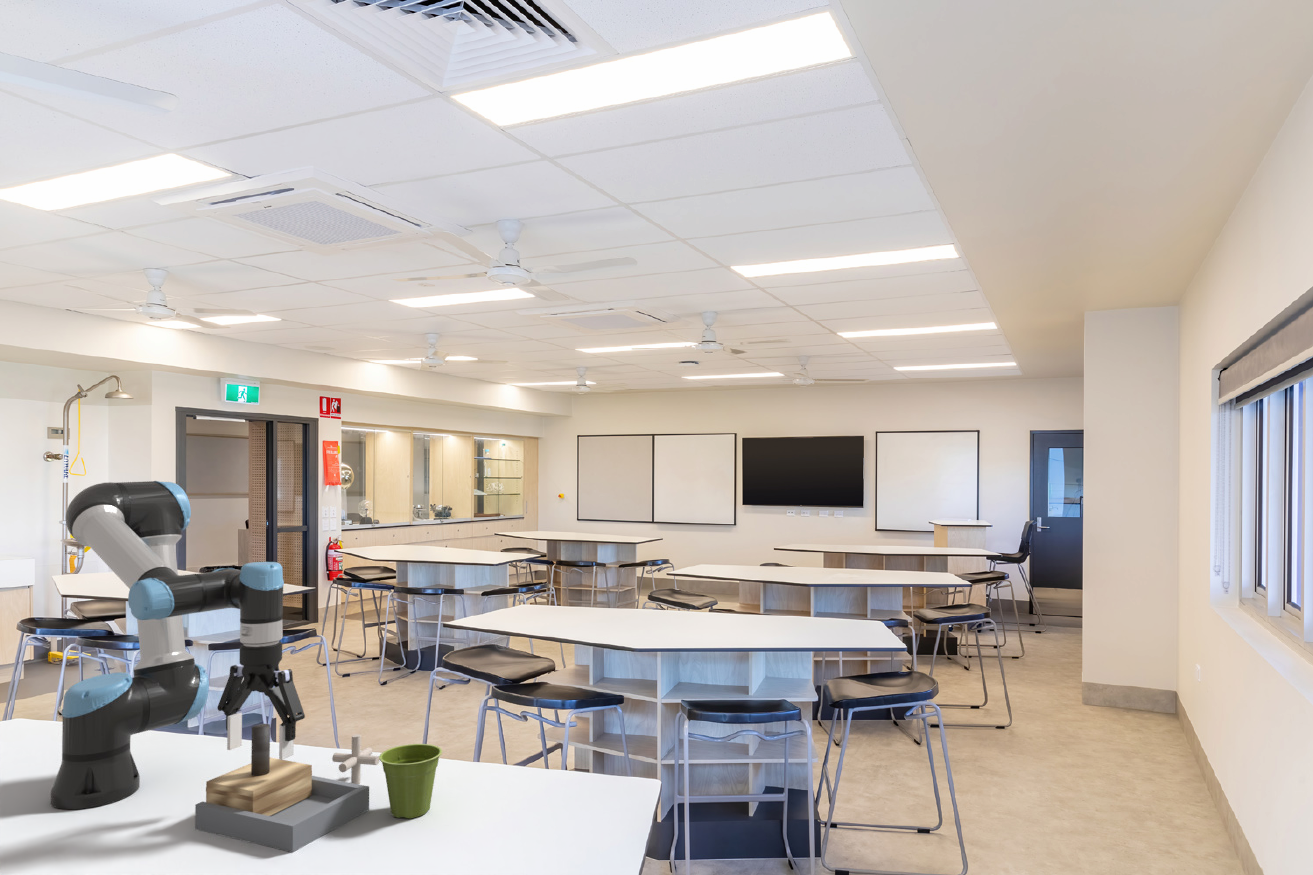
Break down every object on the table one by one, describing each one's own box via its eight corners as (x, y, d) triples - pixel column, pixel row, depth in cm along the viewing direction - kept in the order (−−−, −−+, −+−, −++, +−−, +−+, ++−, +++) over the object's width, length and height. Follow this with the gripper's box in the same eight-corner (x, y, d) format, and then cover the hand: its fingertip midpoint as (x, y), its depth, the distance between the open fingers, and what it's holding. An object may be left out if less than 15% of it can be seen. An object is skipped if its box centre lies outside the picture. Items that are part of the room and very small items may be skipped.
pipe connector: (364, 794, 169) (364, 745, 170) (320, 790, 171) (321, 741, 172) (389, 775, 179) (389, 729, 180) (347, 772, 181) (348, 726, 182)
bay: (195, 828, 154) (195, 804, 154) (277, 790, 171) (277, 769, 171) (292, 852, 144) (292, 826, 145) (369, 809, 162) (369, 786, 162)
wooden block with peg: (205, 813, 156) (206, 733, 156) (266, 786, 169) (267, 712, 170) (252, 824, 151) (253, 741, 152) (311, 795, 164) (312, 719, 165)
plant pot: (454, 806, 164) (454, 748, 164) (410, 829, 153) (411, 768, 154) (410, 794, 169) (410, 739, 170) (365, 816, 159) (365, 757, 159)
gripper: (198, 641, 162) (197, 750, 162) (294, 652, 153) (293, 768, 152) (231, 633, 169) (229, 738, 169) (325, 643, 160) (323, 754, 159)
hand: (259, 752), depth 161 cm, fingers open, 13 cm apart
